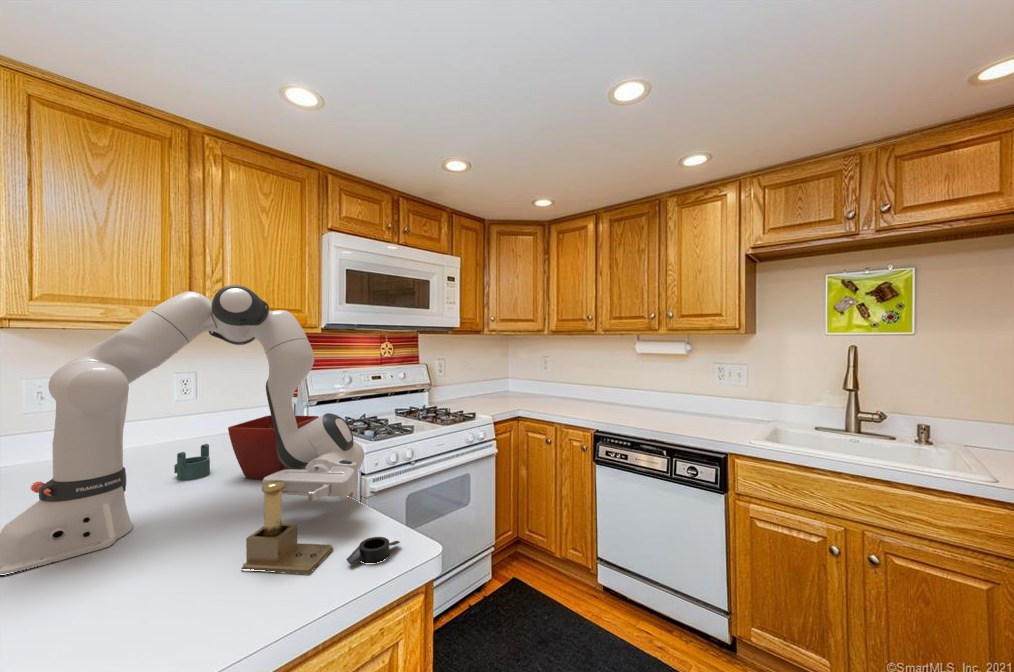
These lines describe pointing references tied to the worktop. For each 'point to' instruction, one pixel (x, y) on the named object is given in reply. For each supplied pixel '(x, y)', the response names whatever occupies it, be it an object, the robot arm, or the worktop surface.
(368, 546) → the black ring with tabs
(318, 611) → the worktop surface
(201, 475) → the bracket
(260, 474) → the plant pot
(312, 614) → the worktop surface
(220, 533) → the worktop surface
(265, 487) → the hinge pin
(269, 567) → the brass socket plate
